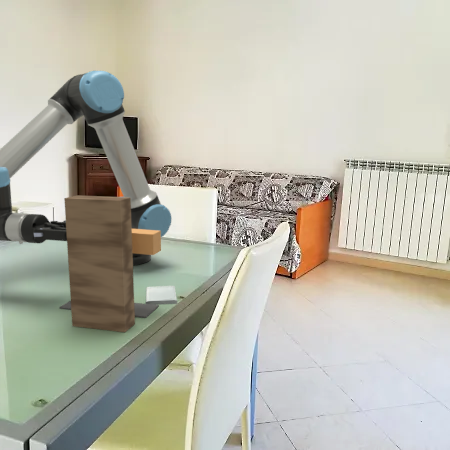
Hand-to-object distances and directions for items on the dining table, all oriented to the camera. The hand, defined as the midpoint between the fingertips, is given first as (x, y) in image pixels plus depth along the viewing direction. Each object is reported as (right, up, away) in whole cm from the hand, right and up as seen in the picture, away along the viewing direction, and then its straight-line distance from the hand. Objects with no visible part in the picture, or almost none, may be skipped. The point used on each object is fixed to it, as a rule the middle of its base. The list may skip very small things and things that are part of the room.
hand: (109, 233), depth 115 cm
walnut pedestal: (0, -21, -6) cm, 22 cm away
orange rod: (+2, -4, 0) cm, 4 cm away
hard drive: (+11, -18, +14) cm, 25 cm away
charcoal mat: (-1, -19, +5) cm, 20 cm away
